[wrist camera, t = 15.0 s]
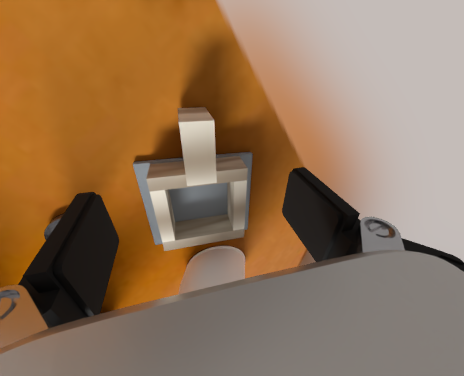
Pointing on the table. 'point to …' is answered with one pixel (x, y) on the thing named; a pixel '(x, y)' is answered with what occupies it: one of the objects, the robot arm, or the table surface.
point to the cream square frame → (197, 174)
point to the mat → (191, 195)
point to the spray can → (213, 268)
